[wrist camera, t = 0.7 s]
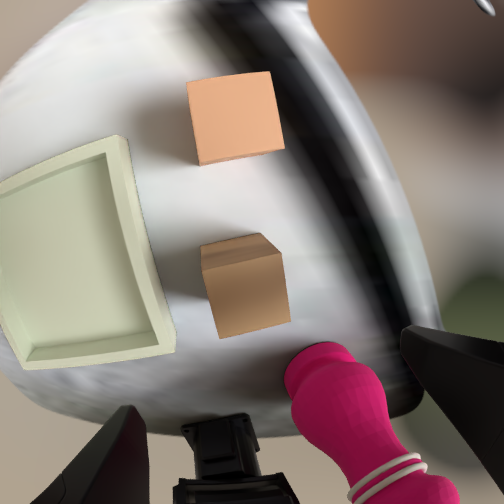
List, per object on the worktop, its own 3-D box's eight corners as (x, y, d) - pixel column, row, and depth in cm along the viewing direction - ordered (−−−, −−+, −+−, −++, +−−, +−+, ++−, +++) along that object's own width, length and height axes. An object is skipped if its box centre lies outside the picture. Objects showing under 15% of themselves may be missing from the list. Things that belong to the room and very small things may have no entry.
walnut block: (269, 287, 20) (291, 321, 15) (213, 300, 20) (219, 339, 15) (260, 232, 19) (281, 252, 14) (200, 245, 18) (201, 270, 14)
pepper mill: (275, 346, 21) (399, 591, 2) (357, 327, 23) (519, 499, 4) (279, 407, 23) (359, 597, 4) (349, 388, 25) (458, 542, 6)
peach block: (261, 154, 18) (284, 148, 13) (199, 166, 17) (200, 162, 12) (251, 96, 16) (269, 71, 12) (189, 106, 16) (186, 82, 11)
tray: (176, 332, 20) (175, 352, 17) (35, 353, 18) (24, 370, 15) (127, 139, 16) (116, 134, 13) (-18, 199, 14) (-37, 204, 12)
